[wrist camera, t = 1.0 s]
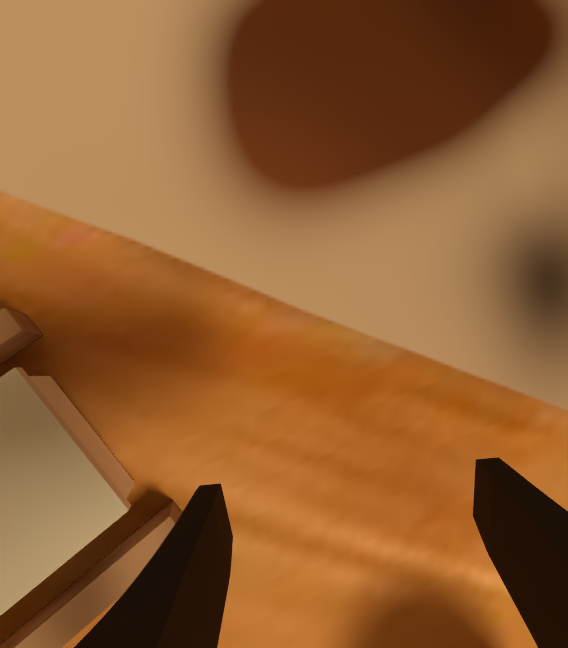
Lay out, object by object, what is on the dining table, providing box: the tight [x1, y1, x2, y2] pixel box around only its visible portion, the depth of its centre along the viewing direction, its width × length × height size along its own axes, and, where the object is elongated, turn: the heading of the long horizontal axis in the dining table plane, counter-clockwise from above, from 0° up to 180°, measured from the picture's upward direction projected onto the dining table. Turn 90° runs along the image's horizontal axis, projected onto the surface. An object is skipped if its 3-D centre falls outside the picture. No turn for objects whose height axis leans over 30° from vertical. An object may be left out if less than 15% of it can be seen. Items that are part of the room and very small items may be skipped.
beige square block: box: [0, 367, 135, 616], centre depth 22 cm, size 9×9×5 cm
